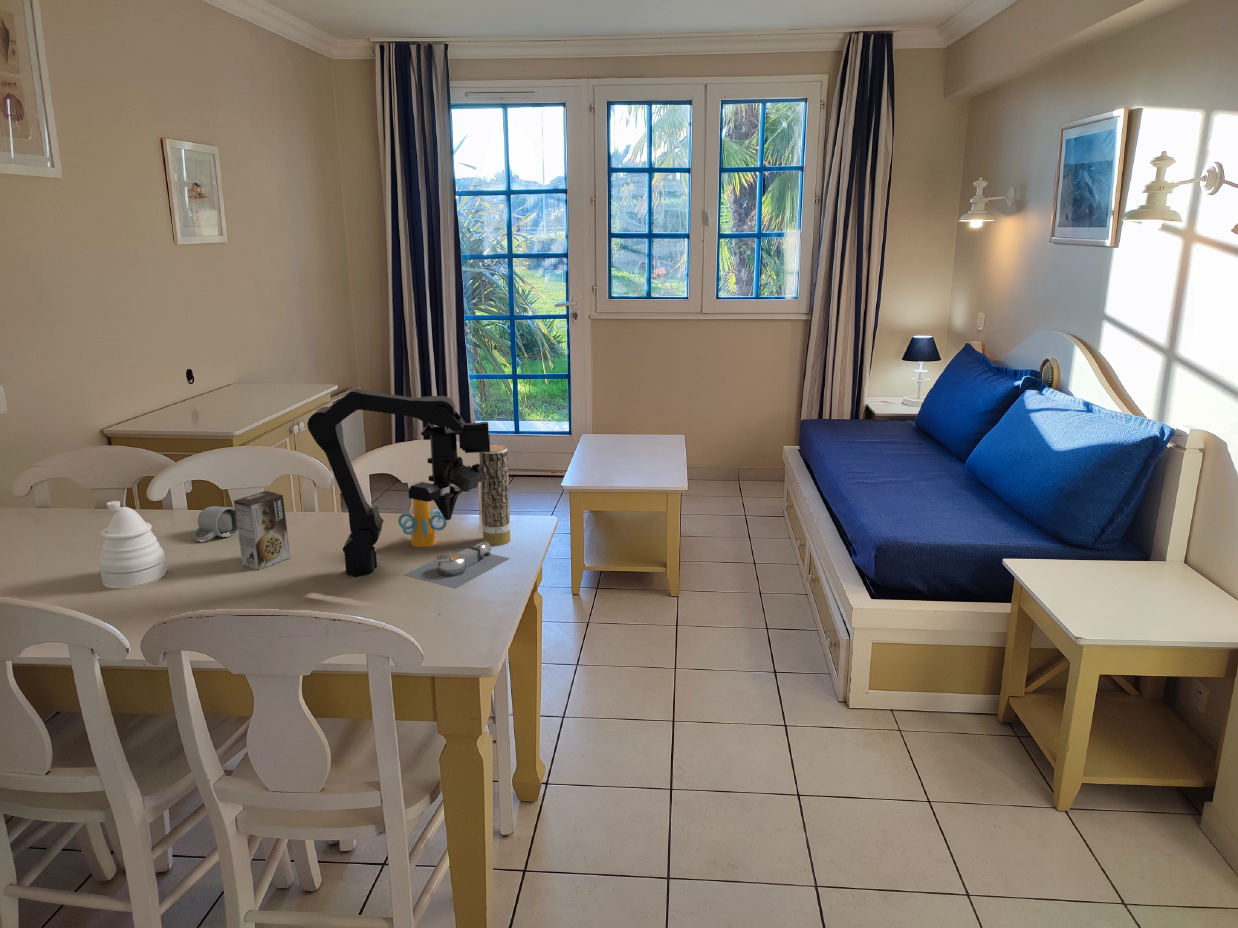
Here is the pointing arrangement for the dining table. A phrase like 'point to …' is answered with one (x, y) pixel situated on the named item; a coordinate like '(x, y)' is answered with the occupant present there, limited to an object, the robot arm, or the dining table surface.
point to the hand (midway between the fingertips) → (447, 519)
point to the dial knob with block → (457, 561)
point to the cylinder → (422, 524)
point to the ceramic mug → (216, 522)
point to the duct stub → (484, 549)
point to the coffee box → (262, 529)
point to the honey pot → (129, 550)
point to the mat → (471, 572)
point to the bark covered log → (495, 496)
